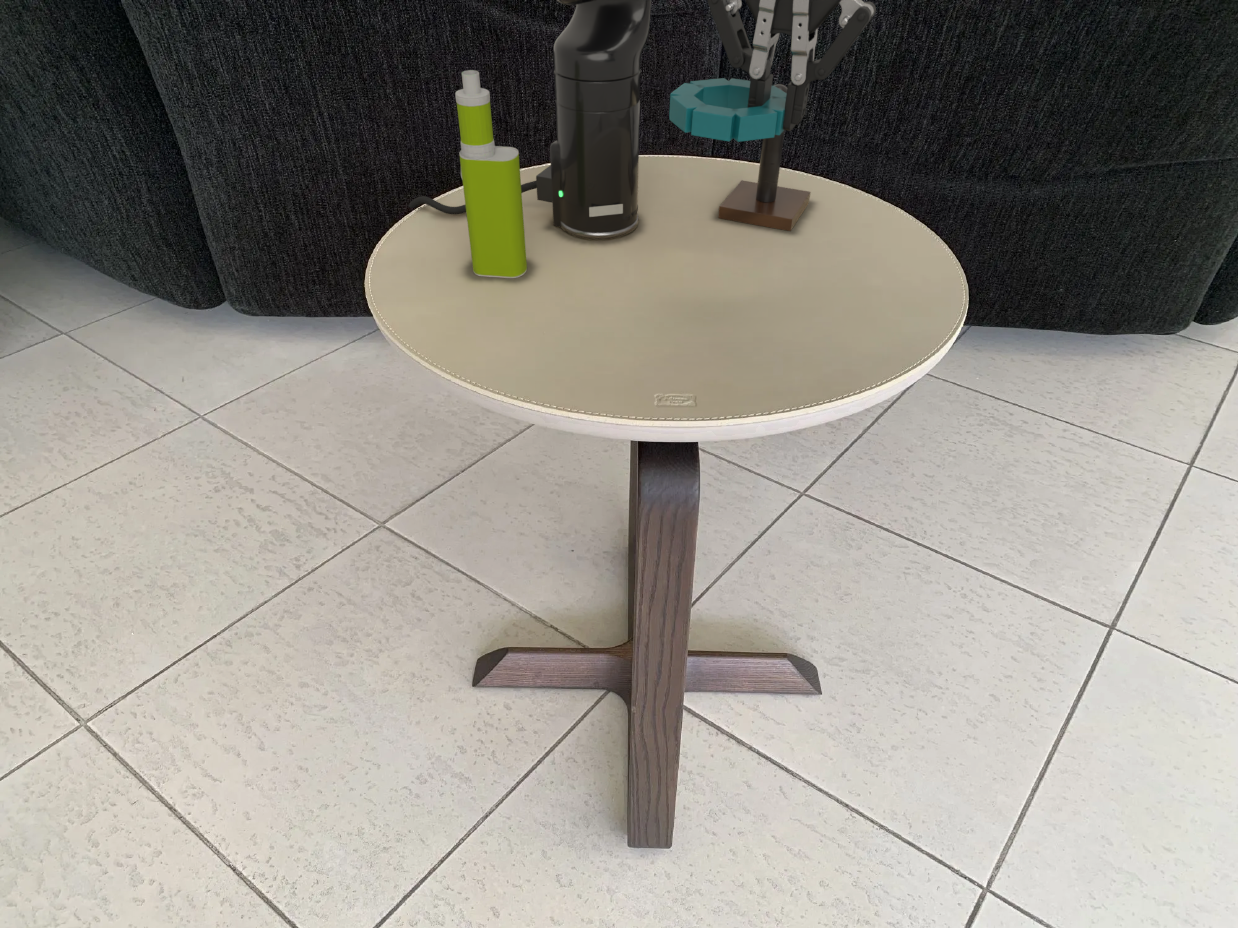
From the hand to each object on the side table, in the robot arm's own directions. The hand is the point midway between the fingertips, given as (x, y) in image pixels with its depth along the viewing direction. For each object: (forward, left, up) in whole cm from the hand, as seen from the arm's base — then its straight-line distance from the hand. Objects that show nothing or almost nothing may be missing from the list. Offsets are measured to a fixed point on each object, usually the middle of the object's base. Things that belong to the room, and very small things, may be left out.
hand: (774, 124), depth 71 cm
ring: (-4, 0, 0) cm, 4 cm away
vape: (-28, -2, -19) cm, 34 cm away
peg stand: (-6, +25, -19) cm, 32 cm away
